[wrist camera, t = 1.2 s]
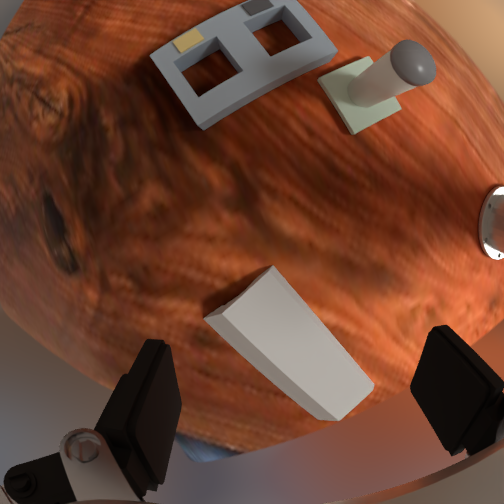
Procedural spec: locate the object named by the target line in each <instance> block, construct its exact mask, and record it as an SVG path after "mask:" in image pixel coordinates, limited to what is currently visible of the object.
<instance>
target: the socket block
mask: <svg viewBox="0 0 504 504" xmlns="http://www.w3.org/2000/svg"><path fill="white" fill-rule="evenodd" d="M279 20H282V21H283V22H284V23H285V24H286V26H287V27H288V28H289V29H290V30H291V32H292V33H293V34H294V35H295V36H296V38H297V39H298V40H299V41H300V43H299V44H297V45H295V46H293V47H290V48H288V49H286V50H284V51H282V52H280V53H277V54H275V55H273V56H271V57H270V55H269V54H268V53H267V52H266V50H265V49H264V48H263V46H262V45H261V44H260V43H259V41H258V40H257V39H256V38H255V37H254V35H253V34H252V32H254V31H256V30H259V29H261V28H263V27H265V26H267V25H270V24H272V23H274V22H277V21H279ZM219 49H220V50H221V51H222V52H223V54H224V55H225V56H226V57H227V59H228V60H229V61H230V63H231V64H232V65H233V67H234V68H235V69H236V71H237V72H238V73H239V74H237V75H235V76H233V77H232V78H230V79H228V80H226V81H225V82H223V83H221V84H220V85H218V86H216V87H215V88H213V89H211V90H210V91H208V92H206V93H205V94H203V95H202V96H200V97H198V96H197V94H196V93H195V91H194V90H193V89H192V87H191V86H190V84H189V83H188V82H187V80H186V79H185V77H184V76H183V74H182V73H181V72H182V71H184V70H185V69H187V68H189V67H190V66H192V65H193V64H195V63H197V62H198V61H200V60H202V59H203V58H205V57H207V56H208V55H210V54H212V53H214V52H216V51H217V50H219ZM337 52H338V50H337V49H336V47H335V46H334V45H333V43H332V42H331V41H330V39H329V38H328V37H327V35H326V34H325V33H324V32H323V30H322V29H321V28H320V27H319V26H318V24H317V23H316V22H315V21H314V20H313V18H312V17H311V16H310V15H309V14H308V13H307V11H306V10H305V9H304V8H303V7H302V6H301V5H300V4H299V3H298V1H297V0H248V1H246V2H244V3H241V4H239V5H237V6H235V7H232V8H230V9H228V10H226V11H224V12H222V13H220V14H218V15H216V16H214V17H212V18H210V19H208V20H206V21H204V22H203V23H201V24H199V25H197V26H195V27H194V28H192V29H190V30H188V31H187V32H185V33H183V34H182V35H180V36H178V37H177V38H175V39H173V40H172V41H170V42H169V43H167V44H166V45H164V46H162V47H161V48H159V49H158V50H156V51H155V52H154V53H152V54H151V55H150V57H151V58H152V60H153V61H154V63H155V64H156V65H157V67H158V68H159V70H160V71H161V73H162V74H163V76H164V77H165V78H166V80H167V81H168V83H169V84H170V86H171V87H172V89H173V90H174V91H175V93H176V94H177V96H178V97H179V99H180V100H181V102H182V103H183V105H184V106H185V108H186V109H187V111H188V112H189V113H190V115H191V116H192V118H193V119H194V121H195V122H196V124H197V125H198V126H199V127H200V128H201V129H203V130H205V129H207V128H208V127H210V126H212V125H213V124H215V123H216V122H218V121H219V120H221V119H223V118H224V117H226V116H228V115H229V114H231V113H232V112H234V111H236V110H237V109H239V108H241V107H243V106H244V105H246V104H248V103H249V102H251V101H253V100H255V99H256V98H258V97H260V96H262V95H264V94H265V93H267V92H269V91H271V90H273V89H275V88H277V87H279V86H280V85H282V84H284V83H286V82H288V81H290V80H292V79H294V78H296V77H298V76H300V75H302V74H304V73H306V72H309V71H311V70H313V69H315V68H317V67H319V66H322V65H324V64H326V63H328V62H330V61H331V59H332V58H333V57H334V56H335V54H336V53H337Z"/></svg>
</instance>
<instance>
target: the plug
mask: <svg viewBox="0 0 504 504" xmlns="http://www.w3.org/2000/svg"><path fill="white" fill-rule="evenodd" d="M435 76H436V66H435V62H434V60H433V58H432V56H431V55H430V53H429V52H428V51H427V50H426V49H425V48H424V47H423V46H422V45H421V44H419V43H417V42H415V41H412V40H403V41H401V42H399V43H398V44H396V45H395V46H394V47H393V48H392V49H391V50H390V51H389V52H388V53H386V54H385V55H384V56H382V57H381V58H380V59H378V60H377V61H376V62H375V63H373V64H372V65H371V66H369V67H368V68H367V69H366V70H364V71H363V72H362V73H361V74H359V75H358V76H357V77H356V78H354V79H353V80H352V81H351V82H350V83H349V85H348V95H349V97H350V99H351V100H352V101H353V102H354V103H355V104H356V105H358V106H360V107H363V108H369V107H372V106H374V105H376V104H378V103H380V102H383V101H385V100H387V99H389V98H392V97H394V96H396V95H399V94H401V93H403V92H406V91H408V90H410V89H413V88H415V87H418V86H423V85H426V84H428V83H430V82H432V81H433V80H434V78H435Z"/></svg>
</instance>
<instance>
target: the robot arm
mask: <svg viewBox="0 0 504 504" xmlns="http://www.w3.org/2000/svg"><path fill="white" fill-rule="evenodd" d="M478 230H479V240H480V244H481V247H482V249H483V251H484V253H485V254H486V255H487V256H489V257H490V258H492V259H495V260H499V259H502V258H504V186H497V187H495V188H494V189H492V190H491V191H490V192H489V194H488V195H487V197H486V199H485V201H484V203H483V206H482V209H481V212H480V218H479V229H478ZM503 388H504V381H503V380H502V379H501V378H500V377H499V376H498V375H497V374H496V373H495V372H494V371H493V369H491V368H490V367H489V365H488V364H487V363H486V362H485V361H484V360H483V359H482V358H481V357H480V356H479V355H478V354H477V353H476V352H475V351H474V350H473V349H472V348H471V347H470V346H469V345H468V344H467V343H466V342H465V341H464V340H463V339H462V338H461V337H460V336H458V335H457V334H456V333H455V332H454V331H453V330H452V329H451V328H450V327H449V326H448V325H441V326H435V327H433V328H432V330H431V331H430V332H429V333H428V336H427V339H426V342H425V346H424V349H423V352H422V355H421V358H420V360H419V363H418V366H417V369H416V371H415V374H414V377H413V379H412V382H411V385H410V389H411V393H412V395H413V396H414V398H415V399H416V401H417V403H418V404H419V406H420V408H421V409H422V411H423V413H424V414H425V416H426V417H427V419H428V421H429V423H430V424H431V426H432V427H433V429H434V431H435V433H436V434H437V436H438V438H439V440H440V441H441V443H442V445H443V447H444V448H445V450H447V451H449V453H450V454H451V456H454V455H456V454H458V453H461V452H462V451H463V450H464V449H465V448H466V450H467V452H466V457H465V459H464V460H462V461H460V462H458V463H456V464H454V465H452V466H449V467H447V468H445V469H443V470H440V471H438V472H436V473H433V474H431V475H428V476H425V477H423V478H420V479H417V480H414V481H412V482H409V483H406V484H403V485H400V486H397V487H393V488H390V489H387V490H383V491H380V492H376V493H372V494H368V495H364V496H360V497H356V498H351V499H346V500H341V501H336V502H330V503H325V504H504V393H503V392H502V391H503ZM181 406H182V403H181V397H180V392H179V388H178V383H177V378H176V373H175V368H174V363H173V358H172V353H171V348H170V345H168V344H165V342H164V340H156V339H147V340H146V341H145V343H144V345H143V347H142V348H141V350H140V352H139V354H138V356H137V358H136V360H135V362H134V363H133V365H132V367H131V369H130V371H129V373H128V374H124V375H122V377H121V378H120V380H119V382H118V384H117V385H116V387H115V389H114V391H113V393H112V395H111V397H110V399H109V401H108V403H107V405H106V407H105V409H104V410H103V412H102V414H101V416H100V418H99V420H98V422H97V424H96V427H95V428H94V430H92V429H87V428H80V429H75V430H73V431H71V432H69V433H68V434H66V435H65V436H64V437H63V439H62V440H61V442H60V446H59V449H60V452H58V453H55V454H52V455H49V456H46V457H42V458H39V459H36V460H33V461H30V462H26V463H23V464H19V465H16V466H14V467H12V468H10V470H8V471H7V473H6V475H5V477H4V485H2V486H1V485H0V504H156V503H149V502H145V500H144V498H143V496H145V495H146V491H147V490H152V491H157V488H158V484H161V485H162V484H163V483H164V480H165V476H166V471H167V467H168V463H169V458H170V453H171V450H172V445H173V441H174V437H175V433H176V428H177V424H178V420H179V416H180V412H181Z"/></svg>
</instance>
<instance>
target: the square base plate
mask: <svg viewBox="0 0 504 504" xmlns="http://www.w3.org/2000/svg"><path fill="white" fill-rule="evenodd" d="M372 64H373V61H372V60H371V58H370V57H369V56H368V57H365V58H363V59H360V60H358V61H355V62H353V63H351V64H348V65H346V66H344V67H341V68H339V69H337V70H335V71H332V72H330V73H328V74H326V75H324V76H321V77H319V78H318V80H317V81H318V83H319V84H320V86H321V87H322V89H323V90H324V92H325V93H326V95H327V96H328V98H329V99H330V101H331V102H332V104H333V105H334V107H335V109H336V110H337V112H338V113H339V115H340V117H341V118H342V120H343V122H344V123H345V125H346V127H347V128H348V130H349V132H350V133H351V135H353V134H356V133H358V132H359V131H361V130H363V129H365V128H367V127H369V126H370V125H372V124H374V123H376V122H378V121H380V120H382V119H384V118H386V117H387V116H389V115H391V114H393V113H395V112H397V111H399V110H401V109H402V108H401V107H400V105H399V103H398V101H397V99H396V98H395V96H394V97H392V98H389V99H387V100H385V101H383V102H380V103H378V104H376V105H374V106H372V107H369V108H363V107H360V106H358V105H356V104H355V103H354V102H353V101H352V100H351V99H350V97H349V95H348V85H349V83H350V82H351V81H352V80H353V79H354V78H356V77H357V76H358V75H359V74H361V73H362V72H363V71H364V70H366V69H367V68H368V67H369V66H371V65H372Z"/></svg>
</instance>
